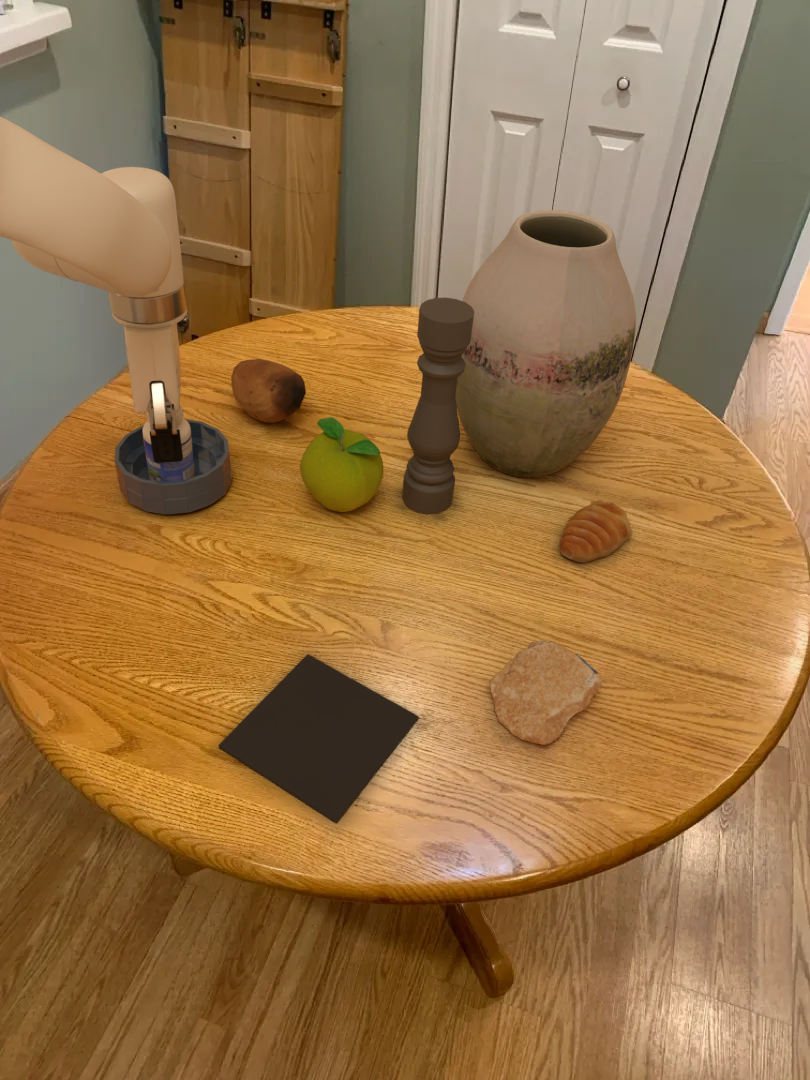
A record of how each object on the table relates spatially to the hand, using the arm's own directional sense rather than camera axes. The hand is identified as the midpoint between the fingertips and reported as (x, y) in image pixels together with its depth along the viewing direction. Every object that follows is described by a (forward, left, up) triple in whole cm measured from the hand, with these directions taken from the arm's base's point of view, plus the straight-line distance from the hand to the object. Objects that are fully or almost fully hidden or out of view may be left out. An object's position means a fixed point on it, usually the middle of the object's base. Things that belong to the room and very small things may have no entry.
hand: (168, 443), depth 98 cm
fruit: (+10, -18, -6) cm, 21 cm away
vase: (+33, -31, -6) cm, 45 cm away
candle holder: (+17, -26, -6) cm, 31 cm away
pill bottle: (0, 0, -5) cm, 5 cm away
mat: (-18, -36, -6) cm, 41 cm away
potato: (+19, +1, -6) cm, 20 cm away
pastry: (+22, -46, -6) cm, 51 cm away
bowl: (+1, 0, -6) cm, 6 cm away
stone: (-3, -51, -6) cm, 51 cm away
